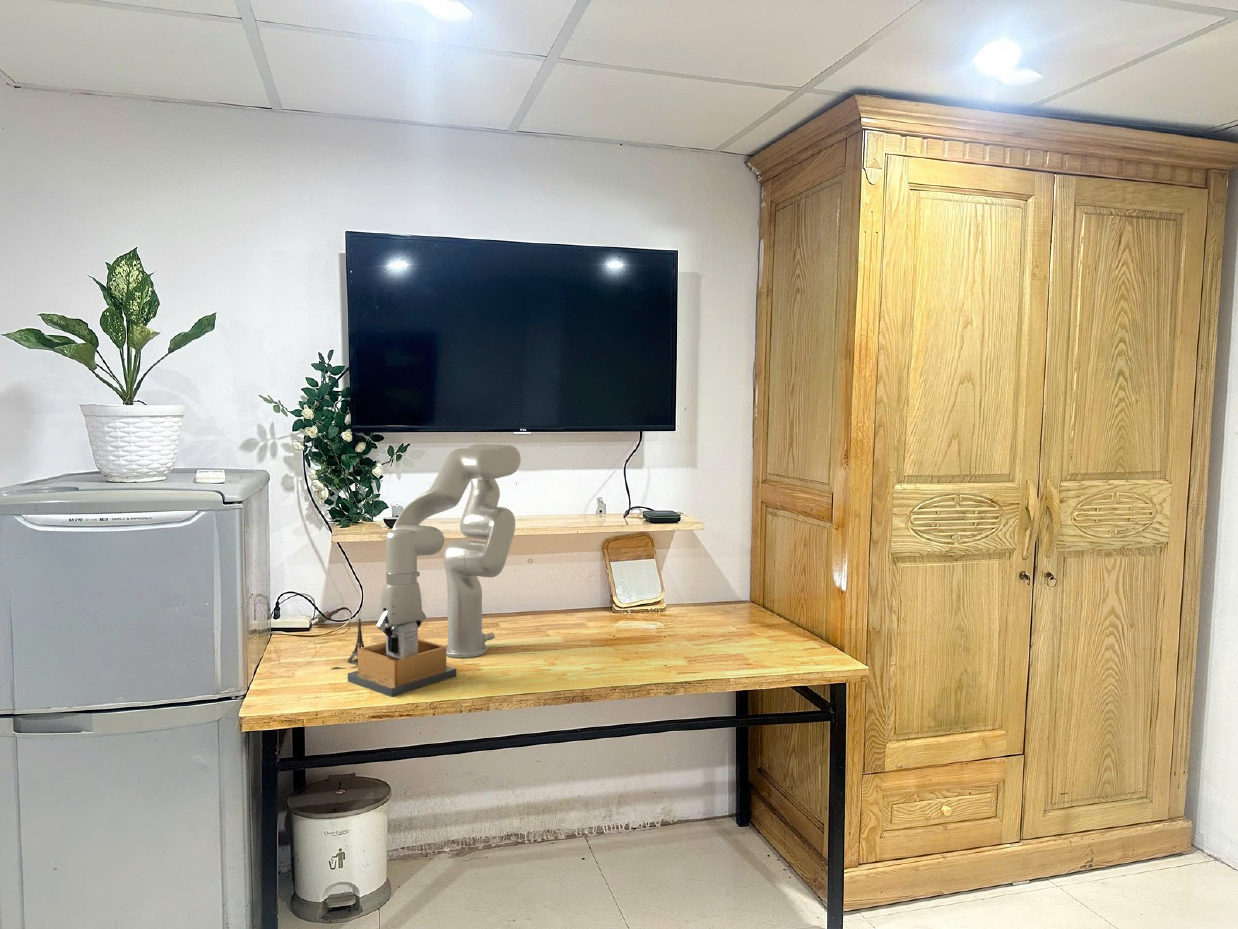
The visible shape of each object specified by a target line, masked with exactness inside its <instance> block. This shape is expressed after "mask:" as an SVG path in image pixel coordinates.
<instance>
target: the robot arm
mask: <svg viewBox="0 0 1238 929" xmlns="http://www.w3.org/2000/svg"><path fill="white" fill-rule="evenodd" d="M521 458H522V457H521V453H520V451H519V450H518V448H516V447H515V446H513V445H511V444H491V443H478V444H472V445H470V446H468V447H467V448H463V447H461V448H456V449H453V450H452V451H451V452H450V453H449V454H448V455H447V457H446V460H445V461H444V463H443V464H442V466H441V468H440V470H439V472H438V474H437V475H436V478H435V479H434V481H433V483H432V485H431V486H430V488H429V489H427V491H425V492H423V493H422V494H420V495H419V496H417V497H416V498H415V499H414V500H412V501H411V502H409V504H407V505H406V506H405V507H404V508H403V509H402V510H401V512H400V514H399V515H398V517H397V519H396V521H395V522H394V524H393V527H392V529H391V530H389V531H388V532H387V533H386V536H385V558H386V559H385V562H386V563H385V564H386V567H385V577H386V578H385V580H386V582H385V584H383V586H382V590H381V596H380V601H379V602H380V604H379V620H378V622H377V624H376V627H375V628H376V629H378V630H380V631H381V632H382V633H383V634H385V637H386V636H388V651H389V652H392V653H398V637H396V634H397V629H398V625H402V624H406V623H410V622H411V623H415V624H417V625H418V629H419V628H420V626H421V624H422V623H423V622H424V620H425V619H427V616H426V614H425V612H424V611H423V608H422V605H423V604H422V595H421V594H422V593H421V588H420V584H419V583H420V582H418V577H420V571H418V557H420V556H423V557H424V556H425V557H426V556H434V555H436V554H438V553H440V551H441V550H442V549H443V547H444V545H445V536H444V534H443V532H442V531H441V530H440V529H439V528H437V527H434V526H430V525H421V523H422V522H425V520H427V519H428V518H431V516H434V515H437V514H440V513H443V512H445V511H449V510H450V509H453V508H455V507H457V506H458V505H459V503H460V501H461V499H462V497H463V495H464V493H465V492H466V490H467V488H468V486H469V484H470V493H469V496H468V499H467V501H466V504H465V508H464V511H463V514H462V517H461V520H460V523H459V524H460V525H459V528H460V529H459V530H460V532H461V534H462V535H463V536H464V537H467V538H470V539H478V540H485V541H486V542H484V541H477V540H468V539H467V540H466V539H459V540H454V541H451V542H450V543H449V544H448V545H446V547H445V549H444V552H443V564H444V570H445V574H446V575H445V576H446V581H447V582H446V584H447V585H446V586H447V588H446V589H447V644H445V646H446V657H450V658H457V659H458V658H459V659H460V658H462V659H464V658H473V657H474V658H475V657H478V656H482V655H484V654H486V653H487V652H488V651H489V650H488V649H489V648H488V645H487V644H486V642H487V641H492V640H494V639H495V633H494V632H489V633H484V632H483V591H482V590H483V589H482V586H481V583H480V580H479V578H478V577H481V578H482V577H483V578H495V577H497V576H499V575H500V574H501V573H502V571H503V569H504V567H505V564H506V563H507V562H506V561H507V558H508V556H509V551H510V548H511V545H512V542H513V539H514V536H515V532H516V519H515V515H514V513H513V512H512V510H511V509H509V508H507V507H502V506H499V505H498V504H499V501H500V497H501V491H500V487H499V485H498V483H497V481H496V480H497V479H500V478H504V477H509V476H511V475H513V474H515V473H516V472H517V471H518V470H519V468H520V465H521V460H522V459H521ZM386 623H388V624H387V627H386ZM392 627H393V628H392ZM391 630H392V631H391Z"/></svg>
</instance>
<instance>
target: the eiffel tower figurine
mask: <svg viewBox="0 0 1238 929" xmlns="http://www.w3.org/2000/svg"><path fill="white" fill-rule="evenodd" d="M358 616H359V618H358V619H357V621H358V624H357V627H358V628H357V638H356V642H355V647H354V650H353V651H352V653H351V655H350V657H349V658H348V659H347V661H346V662H345V664H352V665H355V666H351V667H350V669H354V668H355V669H356V668H358V648H362V647H365V645H364V639H363V634H362V633H363V632H362V623H361V622H362V618H361V617H360V616H361V615H358ZM355 657H356V658H355ZM354 658H355V659H354ZM341 669H346V667H339V666H334V667H330V670H341Z"/></svg>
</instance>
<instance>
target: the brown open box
mask: <svg viewBox="0 0 1238 929" xmlns="http://www.w3.org/2000/svg"><path fill="white" fill-rule="evenodd" d="M357 650H358V667H357V670H356V671H355V670H354V671H351V672H348V673H347V682H349V683H352V684H354V685H358V686H360V687H363V688H364V689H365V688H366V689H368V688H369V690H371V691H375V692H376V693H380V694H383V695H386V696H388V697H391V698H392V697H396V696H399V695H402V694H405V693H408V691H409V692H412V691H414V690H418V689H420V688H424V687H427V686H430V685H434V684H437V683H440V681H441V682H443V681H447V680H450V679H453V678H455V677H456V678H457V668H454V667H451V666H448V665H447V656H446V645H442V644H438V643H435V642H432V641H429V640H425V639H421V638H418V654H415V655H411V656H407V657H404V658H400V659H398V658H395V657H392V656H389V655H386V641H382V642H378V643H373V644H371V645H367V646H364V647H362V646H361V648H358V649H357Z"/></svg>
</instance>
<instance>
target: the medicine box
mask: <svg viewBox="0 0 1238 929" xmlns="http://www.w3.org/2000/svg"><path fill="white" fill-rule="evenodd" d="M387 624H388V623H386V624H385V626H386V627H387ZM392 628H393V627H392ZM391 631H392V630H391ZM418 633H419V628H418V625H417V624H415V623H411V622H410V623H406V624H402V625H398V629H397V634H396V637H398V653H392V652H389V651H388V636H386V635H385V642H386V655H389V656H392V657H395V658H398V659H400V658H404V657H407V656H411V655H415V654H418V639H419V634H418Z"/></svg>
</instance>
